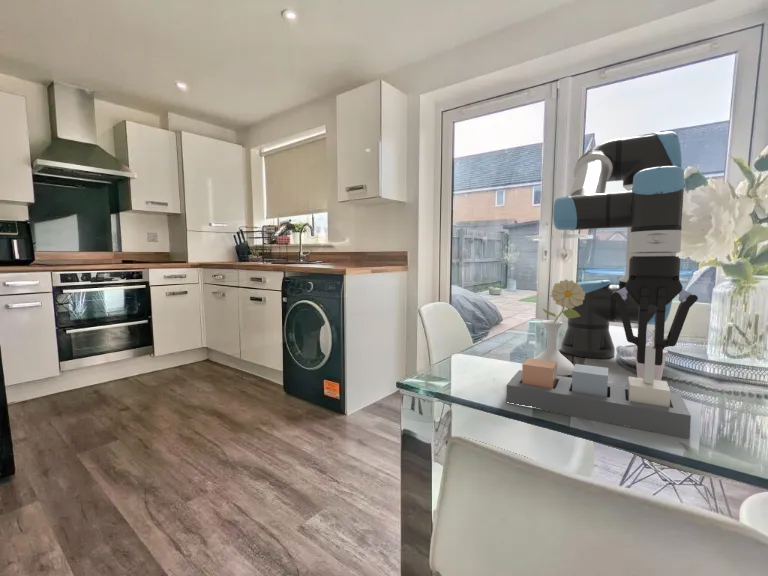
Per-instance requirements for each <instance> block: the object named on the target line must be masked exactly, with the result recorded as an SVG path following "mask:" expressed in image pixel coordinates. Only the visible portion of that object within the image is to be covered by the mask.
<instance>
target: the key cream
mask: <svg viewBox="0 0 768 576" xmlns="http://www.w3.org/2000/svg"><path fill="white" fill-rule="evenodd" d="M627 382H628V383H627V386H628V400H627V401H633V402H639V403H646V404H652V405H658V406H664V407H670V392H671V389H670V387H669V384H668V381H666V380H661V381H660V380H654V384H652V383H645V382H644V380H643V378H638V377H635V376H628V381H627Z"/></svg>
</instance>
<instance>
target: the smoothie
mask: <svg viewBox="0 0 768 576" xmlns="http://www.w3.org/2000/svg"><path fill="white" fill-rule="evenodd" d="M651 333H652V334H651V335H652V336H651V338H652V339H651V346H654V333H655V329H652V331H651ZM632 352H633V353H634V354H635V355H634V356H635V366H636V375H637V378H643V367H644V364H642V363H638V361H637V345H636V346H634V347H633V351H632ZM668 356H669V351H668V350H666V349H665V348H664V349H663V359H662V364H661V366H660V365H655V370H654V380H660V381H662V377H663V374H664V372H663V371H664V369H665V364H666V359H667V357H668Z"/></svg>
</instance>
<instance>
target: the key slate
mask: <svg viewBox="0 0 768 576" xmlns="http://www.w3.org/2000/svg"><path fill="white" fill-rule="evenodd" d="M571 375H572V377H571V378H572V392H578V393H584V394H590V395H596V396H602V397H607V386H608V383H609V382H608V381H609V380H608V379H609V368H608V367H604V366H595V365H586V364H580V363H575V364H574V368H573V373H572V374H571Z"/></svg>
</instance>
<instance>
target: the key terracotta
mask: <svg viewBox="0 0 768 576" xmlns="http://www.w3.org/2000/svg"><path fill="white" fill-rule="evenodd" d="M533 358H534V357H531V358H530V357H527V358H526V359H525V361H523V363H522V384H528V385H534V386H541V387H547V388H553V389H554V388H555V386H556V383H557V361H549V360H541V359H533Z"/></svg>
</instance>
